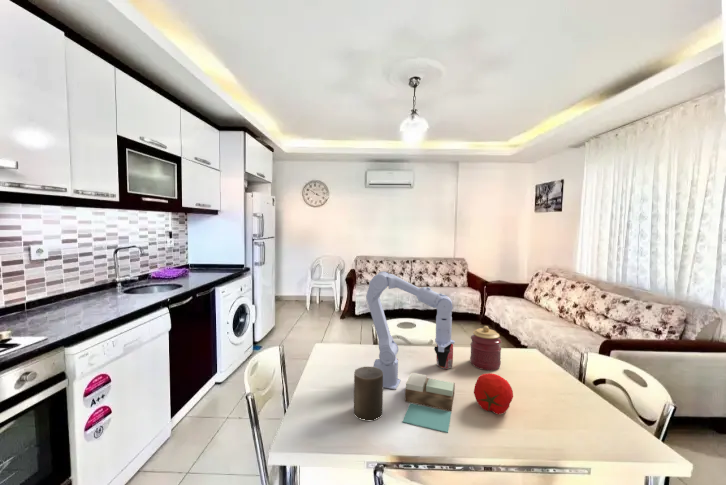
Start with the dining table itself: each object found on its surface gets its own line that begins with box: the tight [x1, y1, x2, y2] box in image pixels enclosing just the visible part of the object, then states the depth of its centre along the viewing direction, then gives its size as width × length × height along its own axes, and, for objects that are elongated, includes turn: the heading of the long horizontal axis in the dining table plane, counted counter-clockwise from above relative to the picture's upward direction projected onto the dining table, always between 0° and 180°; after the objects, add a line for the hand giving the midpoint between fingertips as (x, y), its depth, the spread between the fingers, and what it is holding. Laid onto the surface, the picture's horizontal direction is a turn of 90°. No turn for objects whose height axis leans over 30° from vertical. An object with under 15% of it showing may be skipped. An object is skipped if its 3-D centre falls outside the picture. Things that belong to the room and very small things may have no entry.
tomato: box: [473, 372, 514, 415], centre depth 107 cm, size 13×13×13 cm
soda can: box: [436, 344, 454, 370], centre depth 139 cm, size 7×7×12 cm
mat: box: [402, 402, 452, 434], centre depth 102 cm, size 14×11×1 cm
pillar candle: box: [353, 366, 384, 421], centre depth 104 cm, size 10×10×15 cm
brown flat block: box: [404, 377, 456, 412], centre depth 114 cm, size 16×12×4 cm
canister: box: [469, 325, 503, 371], centre depth 141 cm, size 13×13×18 cm
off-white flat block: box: [405, 372, 428, 392], centre depth 115 cm, size 9×6×2 cm, turn 159°
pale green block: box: [426, 378, 455, 396], centre depth 111 cm, size 9×6×2 cm, turn 69°
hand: (442, 363), depth 118 cm, fingers open, 4 cm apart
